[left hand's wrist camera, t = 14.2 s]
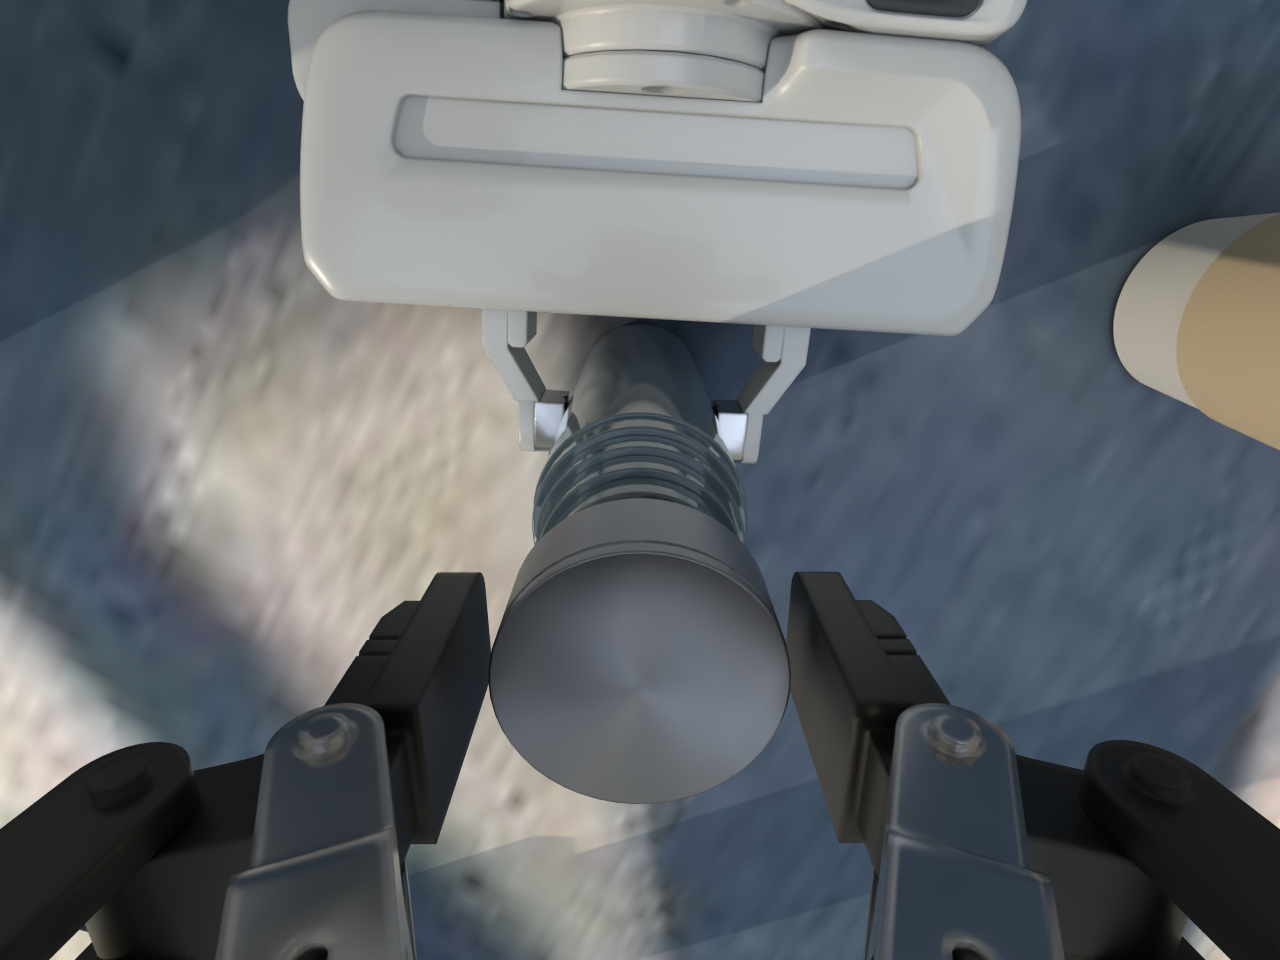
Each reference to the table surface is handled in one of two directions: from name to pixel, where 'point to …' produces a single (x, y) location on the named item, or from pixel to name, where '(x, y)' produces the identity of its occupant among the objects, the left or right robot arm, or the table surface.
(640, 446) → the bottle
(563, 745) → the cap
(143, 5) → the table surface
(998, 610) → the table surface
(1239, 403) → the coffee cup
